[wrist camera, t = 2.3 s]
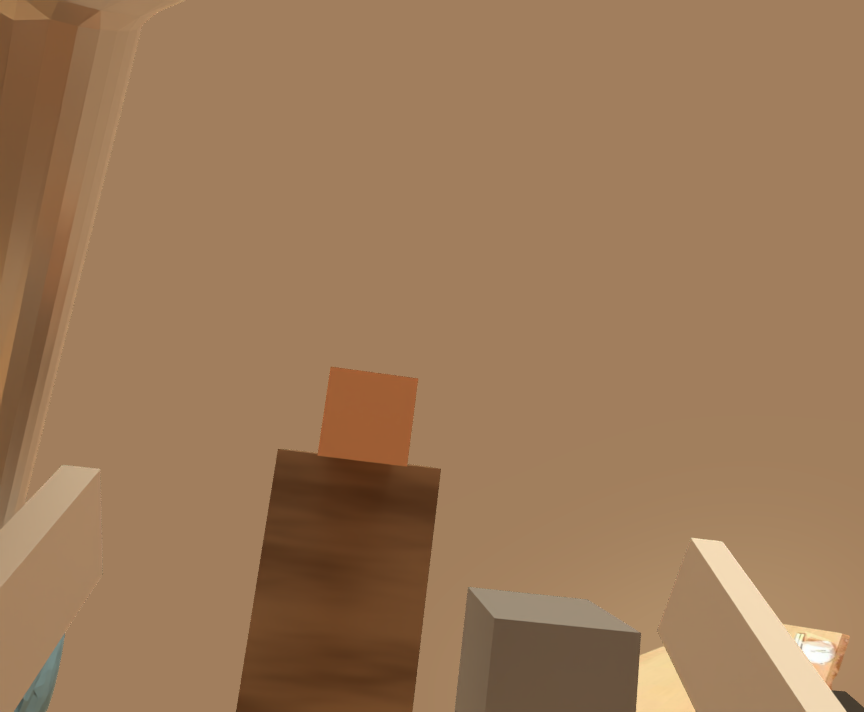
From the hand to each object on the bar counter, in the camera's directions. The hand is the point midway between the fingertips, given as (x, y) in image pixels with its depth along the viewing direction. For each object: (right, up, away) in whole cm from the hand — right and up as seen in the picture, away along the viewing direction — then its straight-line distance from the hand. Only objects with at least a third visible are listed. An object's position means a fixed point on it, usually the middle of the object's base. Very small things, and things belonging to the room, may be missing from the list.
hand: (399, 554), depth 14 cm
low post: (+9, -36, +39) cm, 54 cm away
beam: (-4, -2, +27) cm, 27 cm away
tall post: (-8, -32, +25) cm, 41 cm away
